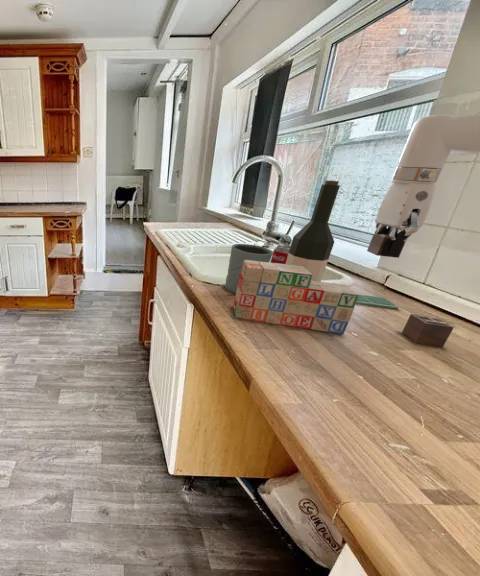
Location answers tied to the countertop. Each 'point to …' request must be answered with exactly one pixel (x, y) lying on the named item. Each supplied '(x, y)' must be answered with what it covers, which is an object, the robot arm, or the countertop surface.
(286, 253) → the beverage can
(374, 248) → the dark brown cube
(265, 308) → the stack of blocks
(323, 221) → the wine bottle
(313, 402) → the countertop surface
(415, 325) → the dark brown wooden box
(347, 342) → the countertop surface
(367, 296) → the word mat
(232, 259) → the grey cylindrical pot
